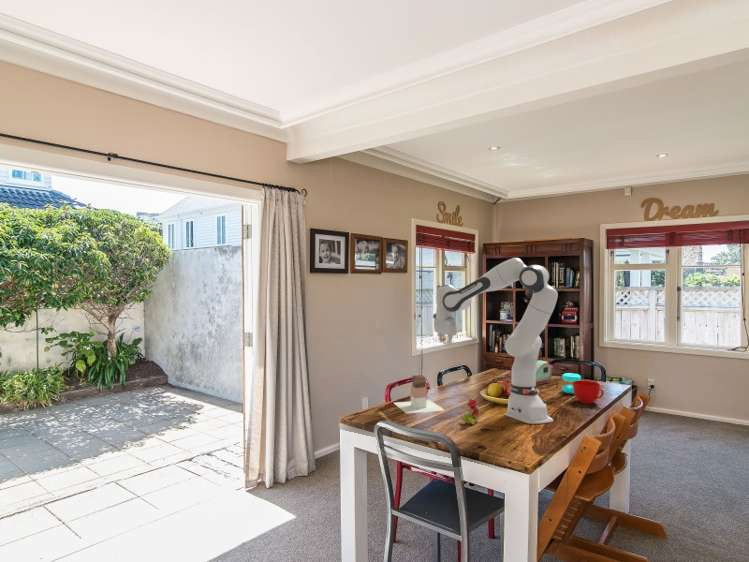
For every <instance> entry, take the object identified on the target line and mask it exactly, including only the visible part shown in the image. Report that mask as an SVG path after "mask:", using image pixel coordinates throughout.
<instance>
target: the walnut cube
mask: <svg viewBox="0 0 749 562" xmlns="http://www.w3.org/2000/svg"><path fill="white" fill-rule="evenodd" d="M411 377H412V378H411V383H412V384H411V385H412V386H414V387H415V388H420V387H426V376H424V375H422V374H416V375H412V376H411Z"/></svg>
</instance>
